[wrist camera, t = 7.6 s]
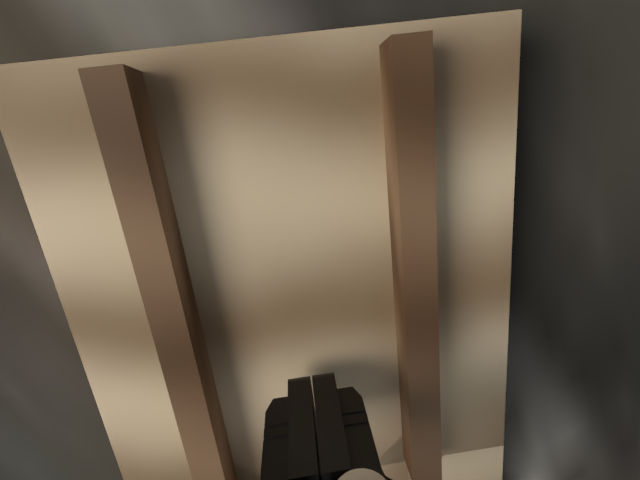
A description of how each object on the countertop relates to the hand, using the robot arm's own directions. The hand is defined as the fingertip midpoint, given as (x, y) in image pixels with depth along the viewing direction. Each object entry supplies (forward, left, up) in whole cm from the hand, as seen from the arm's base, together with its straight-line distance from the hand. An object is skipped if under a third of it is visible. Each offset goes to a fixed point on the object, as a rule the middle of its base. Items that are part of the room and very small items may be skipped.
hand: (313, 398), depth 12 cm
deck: (+1, 0, -3) cm, 3 cm away
